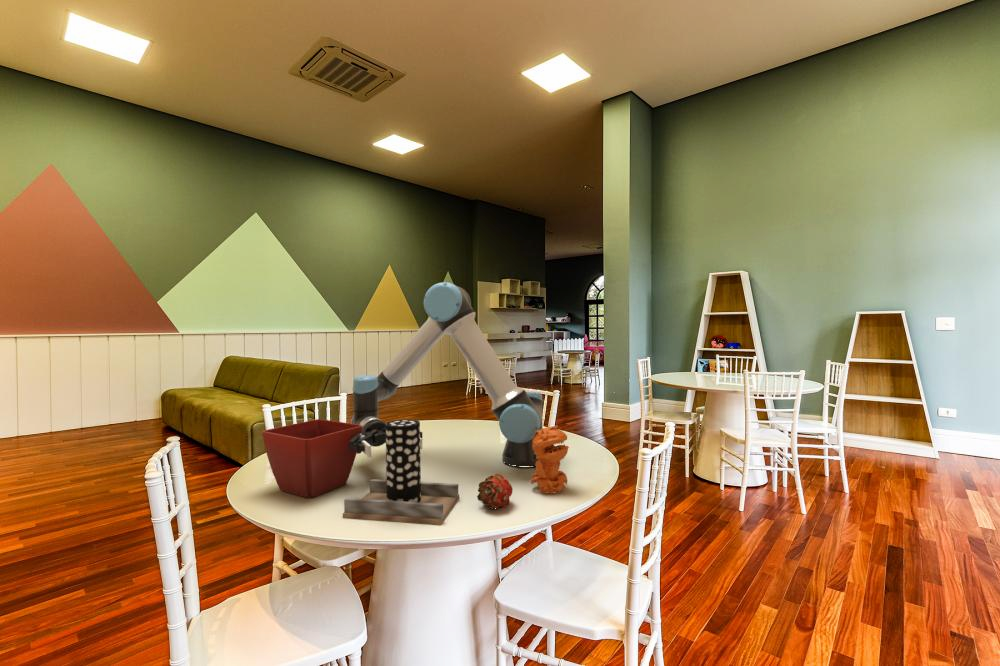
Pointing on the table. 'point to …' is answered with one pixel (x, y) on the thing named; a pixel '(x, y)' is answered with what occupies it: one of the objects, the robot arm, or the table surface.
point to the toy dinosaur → (549, 459)
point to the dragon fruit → (495, 491)
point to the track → (404, 504)
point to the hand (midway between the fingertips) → (396, 447)
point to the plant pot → (311, 455)
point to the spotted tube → (403, 461)
